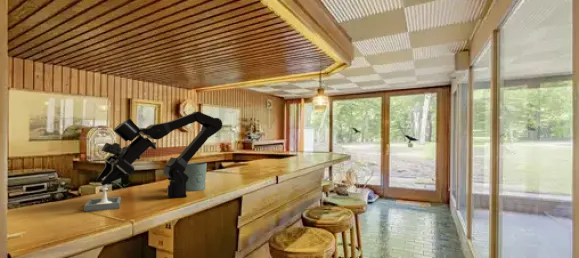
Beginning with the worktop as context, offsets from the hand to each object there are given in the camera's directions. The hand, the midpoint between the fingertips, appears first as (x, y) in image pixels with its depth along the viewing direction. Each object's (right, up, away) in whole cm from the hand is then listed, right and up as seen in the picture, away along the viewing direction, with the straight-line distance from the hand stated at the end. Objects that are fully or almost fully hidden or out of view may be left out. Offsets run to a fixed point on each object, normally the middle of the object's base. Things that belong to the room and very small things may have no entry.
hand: (99, 182), depth 98 cm
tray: (+1, -9, +1) cm, 9 cm away
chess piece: (+1, -8, +1) cm, 8 cm away
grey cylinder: (+22, -10, +33) cm, 41 cm away
